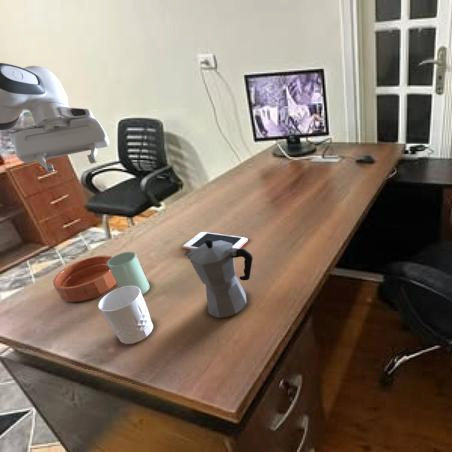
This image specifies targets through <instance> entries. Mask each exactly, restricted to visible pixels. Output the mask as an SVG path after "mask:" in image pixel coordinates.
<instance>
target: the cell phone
mask: <svg viewBox="0 0 452 452" xmlns="http://www.w3.org/2000/svg"><path fill="white" fill-rule="evenodd" d="M207 239H212V242H214V241H219V240H222V241H225V242H229V243H232V247H233V248H238V249H242V247H243V246H244V245H246V243H248V241H249V240H248V238H247V237H242V236H237V235H228V234H221V233H215V232H214V233H213V232H208V231H207V232H206V231H200V232H199V233H198V234H196V235H195V236H193V238H191V239H190V240H188V241H187V242H186V243H185V244H183V245H182V247H183V249H188V250H191V249H195V248H198V247H200V246H201V245H203V244H205V240H207Z"/></svg>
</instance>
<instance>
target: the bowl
mask: <svg viewBox="0 0 452 452" xmlns="http://www.w3.org/2000/svg"><path fill="white" fill-rule="evenodd" d="M112 257H113V256H111V255H105V254H104V255H96V256H91V257H87V258H84V259H81V260H79V261H77V262H74V263H73V264H70V265H68V266H66V267H65V268H64V269H62V270H61V271H59V273H58V274H57V275H56V276H55V277H54V278H53V280H52V283H53V287H54V288H55V290H56V291H57V293H58V295H59V296H60V298H61V299H62V300H64V301H66V302H71V303H72V302H83V301H88V300H91V299H94V298H97V297H99V296H101V295H103V294H105V293H107V292H108V291H110V290H111V289H112V288H114V287H115V285H117V283H116V281H115V279H114V277H113V275H112V273H111V271H110V269H109V267H108V265H107V263H108V261H109V260H110V259H111V258H112Z"/></svg>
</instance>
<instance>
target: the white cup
mask: <svg viewBox="0 0 452 452" xmlns="http://www.w3.org/2000/svg"><path fill="white" fill-rule="evenodd" d="M97 307H98V310H99V311H100V312H101V314H102V316H103V317H104V319H105V320H106V322H107V325H109V327H110V328H111V330H112V331H113V333H114V334H115V335H116V337H117V338H118V339H119V341H120V343H122V344H124V345H134V344H136V343H139V342H141V341H143V340H144V339H146V338H147V337H149V335H150V334H152V331H153V329H154V325H153V321H152V319H151V314H150V313H149V309H148V306H147V304H146V301H145V299H144V296H143V295H142V293H141V290H140V288H138V287H137V286H124V287H121V288H119V287H118V288H115V289H113V290H111V291H109V292H108V293H106V294H105V295H104V296H103V297H102V298H101V299H100V300H99V301H98V304H97Z"/></svg>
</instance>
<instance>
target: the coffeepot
mask: <svg viewBox="0 0 452 452" xmlns="http://www.w3.org/2000/svg"><path fill="white" fill-rule="evenodd" d="M183 256H185V257H187V258H188V259H189V261H190V264H191V265H192V267H193V268H194V271H195V272H196V274H197V276H198V278H199V280H200V281H201V283H202V284H204V285H205V293H206V301H207V311H208V314H210V315H211V316H213V317H216V318H220V319H221V318H229V317H232V316H234V315H237V314H238V313H239V312H241V311H242V310H243V309H244V308H245V307H246V305H247V294H246V292H245V290H244V288H243V287H242V284H241V282H240V281H249V280H250V279H251V271H252V264H253V260H254V259H253V258H254V257H253V255H252V253H250V252H249V250H247V249H246V248H240V249H238V248H233V247H232V243H229V242H225V241H222V240H219V241H214V242H212V239H207V240H205V244H203V245H201V246H200V247H198V248H195V249H188V250H186V251H185V252H184V254H183ZM236 258H243V259H244V261H243V262H244V263H243V265H244V268H243V274H244V275H243V276H242V275H241V276H237V275H236V267H235V259H236ZM238 277H239V278H238Z"/></svg>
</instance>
